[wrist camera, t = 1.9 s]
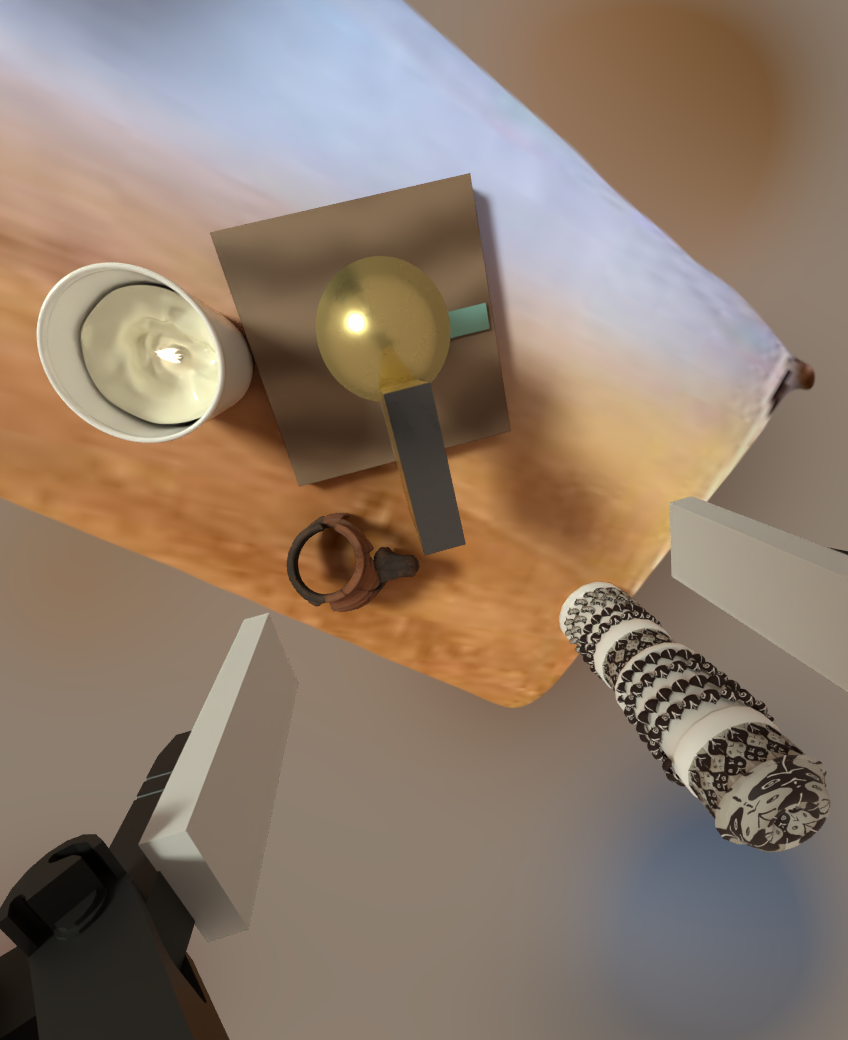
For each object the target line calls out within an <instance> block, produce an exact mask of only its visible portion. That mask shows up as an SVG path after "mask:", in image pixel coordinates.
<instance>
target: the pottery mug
mask: <svg viewBox="0 0 848 1040" xmlns="http://www.w3.org/2000/svg"><path fill="white" fill-rule="evenodd" d="M348 517H349V514H348V513H334V514H329V515H327V516H326V517H325V516H322V517H320V518H318V519H317V520H315V521H314V522H313V523H312V524H310V525H309V526H308V527H307V528H306V529H304V530H303V531H302V532H300V533H299V534H298V536H297V537H296V538H295V540H294V542H293V544H292V546H291V548H290V550H289V553H288V558H287V572H288V576H289V580H290V581H291V582H292V585H293V586H294V588H295V589H296V591H297V592H298V593H299V594H300V595H301V596H302V597H303V598H304V599H305V600H308V602H309V603H311V604H312V605H314V606H320V605H321V604H322V603H330V606H331V608H332V610H333V611H340V612H345V611H351V610H355V609H358V608H360V607H362V606H364V605H366V604H367V603H368V602H369V601H370V600H372V599H373V598H374V597H375V596H376V595H377V594H378V593H379V591H380V590H381V589H382V588H383V586H384V585H385V583H386V582H387V581H388V580H392V579H397V578H400V577H413V576H415V574H416V572H417V570H418V569H419V561H418V560H417V559H416V558H415V557H414V556H413V555H399V554H396V553H394V552H393V551H392V550H391V549H390V548H389V547H385V548H384V547H381V548H380V549H379V550H378V551H377V552H376V553H375V556H374V560H373V559H372V558H371V556H370V554H369V552H370V551H372V550H373V546H372V544H371V543H370V542H369V540H368V539H367V538H366V536H365V535H364V534H363V533H362V532H361V531H360V530H359V529H358V528H357V527H356V526H355V525H353V524H352V523H350V522H348V521H346V520H344V519H345V518H348ZM326 528H335V531H336V532H338V533H340V534H341V535H343V536H344V537H346V538H347V539H348V541H349V542H350V543H351V545H352V547H353V549H354V553H355V556H356V565H355V570H354V573H353V575H352V577H351V579H350V581H349V582H348V583H347V585H345V586H344V587H343V588H342V589H340V590H339V591H337V592H334V593H330V594H319V593H316V592H314V591H312V590H310V589H309V588H308V587H307V586H306V585H305V584H304V582H303V581H302V579H301V577H300V574H299V569H298V559H299V554H300V551H301V549H302V547H303V546H304V544H305V543H306V541H307V540H308V539H309V538H310V537H312V536H313V535H315V534H316V533H318V532H321V531H324V530H325V529H326Z"/></svg>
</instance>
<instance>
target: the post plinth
mask: <svg viewBox="0 0 848 1040" xmlns="http://www.w3.org/2000/svg"><path fill="white" fill-rule="evenodd" d="M210 235H211V237H212V240H213V243H214V246H215V249H216V252H217V254H218V257H219V260H220V263H221V266H222V269H223V271H224V274H225V277H226V280H227V283H228V286H229V288H230V291H231V294H232V297H233V300H234V303H235V305H236V308H237V311H238V314H239V317H240V320H241V322H242V325H243V328H244V331H245V334H246V337H247V339H248V342H249V345H250V348H251V351H252V354H253V356H254V359H255V362H256V365H257V368H258V371H259V373H260V376H261V379H262V382H263V385H264V388H265V390H266V393H267V396H268V399H269V402H270V405H271V407H272V410H273V413H274V416H275V419H276V422H277V424H278V427H279V430H280V433H281V436H282V439H283V441H284V444H285V447H286V450H287V453H288V456H289V458H290V461H291V464H292V467H293V470H294V473H295V475H296V478H297V481H298V484H299V487H300V486H303V485H307V484H311V483H315V482H319V481H322V480H326V479H330V478H334V477H338V476H342V475H345V474H349V473H353V472H357V471H361V470H364V469H368V468H372V467H376V466H380V465H383V464H387V463H391V462H395V461H396V459H395V455H394V451H393V447H392V443H391V439H390V436H389V432H388V428H387V424H386V420H385V416H384V413H383V409H382V405H381V402H375V401H371V400H367V399H364V398H362V397H359V396H357V395H355V394H354V393H352V392H350V391H349V390H347V389H346V388H345V387H344V386H342V385H341V384H340V383H339V382H338V381H337V380H336V379H335V377H334V376H333V375H332V374H331V372H330V371H329V369H328V368H327V366H326V364H325V362H324V360H323V358H322V356H321V353H320V350H319V347H318V342H317V336H316V316H317V310H318V306H319V302H320V299H321V297H322V295H323V292H324V291H325V289H326V287H327V285H328V284H329V283H330V281H331V280H332V279H333V277H334V276H335V275H336V274H337V273H338V272H340V271H341V270H342V269H343V268H345V267H346V266H348V265H349V264H351V263H353V262H355V261H357V260H360V259H363V258H366V257H373V256H388V257H394V258H398V259H401V260H404V261H406V262H408V263H410V264H412V265H414V266H415V267H417V268H419V269H420V270H421V271H422V272H423V273H425V274H426V275H427V276H428V277H429V278H430V279H431V280H432V282H433V283H434V284H435V286H436V287H437V288H438V290H439V292H440V294H441V295H442V297H443V299H444V302H445V304H446V307H447V311H448V315H449V320H450V335H451V336H450V345H449V350H448V354H447V357H446V360H445V362H444V364H443V366H442V368H441V370H440V372H439V373H438V375H437V376H436V378H435V379H434V380H433V381H432V382H431V387H432V391H433V396H434V401H435V405H436V410H437V414H438V419H439V424H440V428H441V433H442V437H443V442H444V447H445V448H448V447H452V446H456V445H459V444H463V443H467V442H471V441H475V440H478V439H482V438H486V437H490V436H494V435H497V434H501V433H505V432H509V431H511V429H510V423H509V417H508V410H507V404H506V398H505V391H504V385H503V379H502V372H501V366H500V360H499V353H498V347H497V341H496V334H495V328H494V322H493V315H492V309H491V303H490V296H489V290H488V284H487V277H486V271H485V265H484V258H483V252H482V246H481V239H480V233H479V227H478V220H477V214H476V208H475V201H474V195H473V189H472V182H471V176H470V173H469V174H464V175H460V176H456V177H451V178H447V179H442V180H438V181H434V182H429V183H425V184H421V185H416V186H412V187H407V188H403V189H399V190H394V191H390V192H385V193H381V194H377V195H372V196H368V197H364V198H359V199H355V200H350V201H346V202H342V203H337V204H333V205H329V206H324V207H320V208H315V209H311V210H307V211H302V212H298V213H293V214H289V215H285V216H280V217H276V218H272V219H267V220H263V221H258V222H254V223H250V224H245V225H241V226H236V227H232V228H228V229H223V230H219V231H215V232H210Z"/></svg>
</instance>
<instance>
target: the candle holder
mask: <svg viewBox="0 0 848 1040" xmlns="http://www.w3.org/2000/svg"><path fill="white" fill-rule="evenodd" d="M37 344H38V351H39V355H40V359H41V362H42V365H43V368H44V370H45V373H46V375H47V377H48V379H49V381H50V382H51V384H52V386H53V387H54V389H55V390H56V392H57V393H58V395H59V396H60V397H61V398H62V400H63V401H64V402H65V403H66V404H67V405H68V406H69V407H70V408H71V409H72V410H73V411H74V412H75V413H76V414H77V415H78V416H80V417H81V418H82V419H83V420H85V421H86V422H88V423H89V424H91V425H92V426H94V427H96V428H97V429H99V430H101V431H103V432H105V433H107V434H110V435H112V436H115V437H118V438H121V439H124V440H128V441H133V442H140V443H161V442H167V441H172V440H175V439H179V438H181V437H184V436H186V435H188V434H190V433H192V432H193V431H195V430H196V429H198V428H199V427H200V426H202V425H203V424H204V423H206V422H207V421H209V420H211V419H213V418H214V417H216V416H218V415H219V414H221V413H223V412H224V411H226V410H227V409H229V408H231V407H232V406H234V405H235V404H236V403H237V402H239V401H240V400H241V399H242V397H243V396H244V395H245V393H246V392H247V390H248V388H249V386H250V384H251V380H252V376H253V360H252V355H251V351H250V348H249V346H248V344H247V342H246V340H245V338H244V336H243V335H242V333H241V332H240V331H239V330H238V328H237V327H236V326H235V325H234V324H233V323H232V322H231V321H229V320H228V319H227V318H226V317H224V316H223V315H222V314H220V313H219V312H217V311H216V310H214V309H212V308H211V307H209V306H208V305H206V304H205V303H203V302H201V301H200V300H198V299H196V298H195V297H193V296H192V295H190V294H188V293H187V292H185V291H184V290H183V289H182V288H180V287H179V286H178V285H176V284H175V283H173V282H172V281H170V280H169V279H167V278H165V277H163V276H162V275H160V274H158V273H155V272H153V271H151V270H148V269H145V268H142V267H139V266H135V265H131V264H125V263H98V264H93V265H88V266H85V267H82V268H80V269H77V270H75V271H73V272H71V273H70V274H68V275H66V276H65V277H64V278H62V279H61V280H60V281H59V282H58V283H57V284H56V285H55V286H54V287H53V288H52V290H51V291H50V292H49V294H48V295H47V297H46V299H45V301H44V303H43V305H42V307H41V310H40V314H39V318H38V324H37Z"/></svg>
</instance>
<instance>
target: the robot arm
mask: <svg viewBox="0 0 848 1040" xmlns="http://www.w3.org/2000/svg"><path fill="white" fill-rule="evenodd" d="M670 530H671V565H672V577H673V578H675V579H676V580H678V581H679V582H681V583H683V584H684V585H686V586H687V587H689V588H690V589H692V590H693V591H695V592H696V593H698V594H699V595H701V596H702V597H704V598H705V599H707V600H708V601H710V602H711V603H713V604H714V605H716V606H717V607H719V608H720V609H722V610H723V611H725V612H727V613H728V614H729V615H731V616H733V617H734V618H736V619H737V620H739V621H740V622H742V623H743V624H745V625H747V626H748V627H749V628H751V629H752V630H754V631H756V632H757V633H758V634H760V635H761V636H763V637H764V638H766V639H767V640H769V641H770V642H772V643H774V644H775V645H777V646H778V647H780V648H781V649H783V650H784V651H786V652H787V653H789V654H790V655H792V656H793V657H795V658H796V659H798V660H799V661H801V662H802V663H804V664H805V665H807V666H808V667H810V668H812V669H813V670H814V671H816V672H817V673H819V674H821V675H822V676H824V677H825V678H827V679H828V680H830V681H831V682H833V683H834V684H836V685H837V686H839V687H841V688H842V689H843V690H845V691H846V692H848V551H843V550H838V549H833V548H828V547H825V546H822V545H819V544H816V543H813V542H811V541H809V540H806V539H804V538H801V537H798V536H796V535H792V534H790V533H788V532H785V531H782V530H780V529H777V528H774V527H772V526H769V525H766V524H764V523H761V522H758V521H756V520H753V519H750V518H748V517H745V516H742V515H740V514H737V513H734V512H732V511H729V510H727V509H724V508H721V507H718V506H716V505H713V504H711V503H708V502H705V501H703V500H700V499H697V498H695V497H688V498H684V499H681V500H677V501H673V502H670ZM297 688H298V681H297V678H296V676H295V674H294V671H293V669H292V666H291V664H290V662H289V659H288V657H287V655H286V652H285V650H284V648H283V645H282V643H281V640H280V638H279V636H278V633H277V631H276V629H275V626H274V624H273V622H272V619H271V617H270V614H269V613H266V614H263V615H259V616H256V617H252V618H249V619H245V620H244V621H243V623H242V625H241V628H240V630H239V632H238V634H237V636H236V638H235V640H234V642H233V644H232V647H231V649H230V651H229V653H228V655H227V657H226V660H225V662H224V664H223V666H222V668H221V670H220V672H219V674H218V676H217V678H216V681H215V683H214V685H213V687H212V689H211V691H210V694H209V696H208V698H207V700H206V702H205V704H204V706H203V708H202V710H201V712H200V714H199V717H198V719H197V721H196V723H195V725H194V727H193V729H192V731H188V732H185V733H182V734H178V735H176V736H175V737H174V738H173V740H171V742H170V743H169V744H168V745H167V746H166V747H165V748H164V750H163V751H162V752H161V753H160V754H159V755H158V757H157V759H156V760H155V763H154V764H153V766H152V768H151V770H150V772H149V774H148V776H147V781H146V782H144V783H143V785H142V787H141V789H140V791H139V793H138V795H137V800H135V801H134V802H133V804H132V806H131V808H130V810H129V811H128V813H127V815H126V817H125V819H124V821H123V823H122V825H121V827H120V829H119V830H118V832H117V834H116V836H115V838H114V840H113V842H112V844H111V845H110V847H109V848H108V847H107V846H106V844H105V843H104V842H103V840H102V839H100V838H99V837H98V836H97V835H96V834H90V835H89V834H88V835H81V836H79V837H76V838H73V839H71V840H68V841H66V842H64V843H63V844H61V845H59V846H58V847H57V848H55V849H53V850H52V851H50V852H48V853H47V854H46V855H45V856H44V857H43V858H41V859H40V860H39V861H38V862H37V863H36V864H34V865H33V866H32V867H31V868H30V869H29V870H28V871H27V872H26V873H25V874H24V875H23V876H22V878H21V879H20V880H19V881H18V882H17V883H16V885H15V886H14V887H13V888H12V889H11V891H10V892H9V894H8V896H7V898H6V899H5V901H4V903H3V904H2V906H1V908H0V929H1V930H2V931H3V932H4V933H5V934H6V935H7V936H8V937H9V938H10V939H11V940H12V941H13V942H14V943H15V944H16V945H17V947H16V948H14V949H12V950H11V951H9V952H7V953H6V954H4V955H2V956H1V957H0V1040H229V1038H228V1036H227V1033H226V1031H225V1029H224V1027H223V1025H222V1023H221V1020H220V1018H219V1016H218V1014H217V1012H216V1010H215V1007H214V1005H213V1003H212V1001H211V999H210V997H209V994H208V992H207V990H206V988H205V986H204V984H203V982H202V979H201V977H200V975H199V973H198V971H197V968H196V966H195V964H194V962H193V960H192V959H191V957H190V956H189V955H188V953H187V952H186V950H187V947H188V944H189V940H190V937H191V934H192V930H193V927H194V924H195V925H196V927H197V928H198V930H199V931H200V932H201V934H202V935H203V937H204V938H205V940H206V941H207V942H210V941H213V940H216V939H220V938H223V937H226V936H229V935H232V934H236V933H239V932H241V931H245V930H248V929H249V926H250V921H251V916H252V911H253V906H254V901H255V896H256V891H257V886H258V881H259V876H260V871H261V867H262V862H263V856H264V851H265V847H266V841H267V837H268V832H269V827H270V822H271V817H272V812H273V807H274V801H275V797H276V792H277V787H278V782H279V777H280V772H281V767H282V761H283V757H284V752H285V747H286V742H287V737H288V732H289V727H290V722H291V717H292V712H293V707H294V702H295V697H296V693H297Z"/></svg>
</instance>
